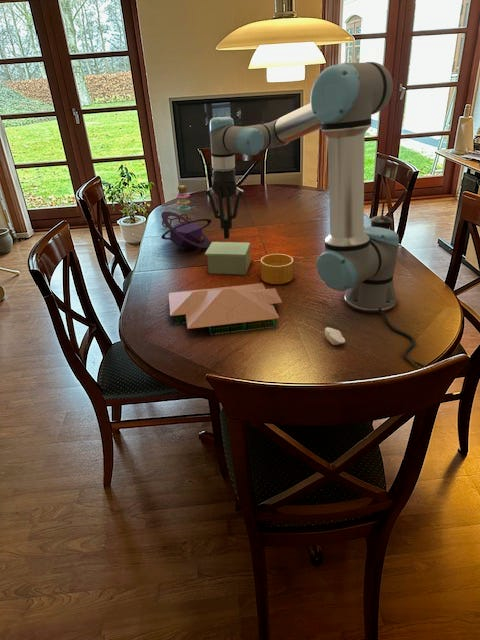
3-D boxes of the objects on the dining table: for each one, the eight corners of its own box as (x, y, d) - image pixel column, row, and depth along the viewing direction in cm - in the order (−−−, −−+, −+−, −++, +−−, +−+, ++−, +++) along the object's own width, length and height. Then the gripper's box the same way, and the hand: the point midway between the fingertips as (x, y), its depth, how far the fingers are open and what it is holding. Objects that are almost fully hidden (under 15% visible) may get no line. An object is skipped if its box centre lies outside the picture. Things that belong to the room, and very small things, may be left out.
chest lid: (205, 255, 156) (204, 253, 156) (212, 243, 166) (212, 241, 165) (245, 256, 154) (245, 254, 153) (250, 244, 164) (250, 242, 163)
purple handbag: (213, 256, 173) (209, 192, 160) (159, 259, 172) (150, 195, 159) (213, 236, 192) (208, 177, 179) (164, 239, 191) (156, 180, 178)
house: (288, 326, 126) (289, 301, 122) (172, 340, 122) (168, 315, 118) (270, 291, 145) (270, 268, 141) (170, 302, 141) (167, 278, 137)
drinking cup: (388, 258, 165) (396, 205, 155) (367, 257, 167) (373, 204, 156) (386, 250, 172) (394, 199, 161) (366, 250, 173) (372, 198, 163)
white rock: (319, 338, 121) (321, 325, 120) (336, 339, 122) (339, 325, 121) (330, 348, 114) (333, 334, 113) (348, 348, 116) (351, 334, 114)
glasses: (187, 222, 210) (186, 212, 207) (200, 230, 200) (200, 219, 198) (162, 228, 204) (160, 218, 201) (174, 236, 194) (173, 225, 192)
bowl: (291, 286, 148) (292, 267, 145) (259, 285, 150) (258, 265, 146) (293, 272, 157) (294, 254, 154) (262, 271, 159) (262, 253, 156)
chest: (208, 273, 159) (207, 255, 156) (215, 260, 169) (214, 243, 166) (245, 274, 157) (245, 256, 154) (250, 261, 167) (250, 244, 164)
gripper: (245, 166, 148) (246, 234, 160) (207, 166, 150) (211, 233, 162) (241, 171, 141) (243, 241, 153) (201, 171, 143) (206, 240, 155)
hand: (226, 237), depth 158 cm, fingers closed
